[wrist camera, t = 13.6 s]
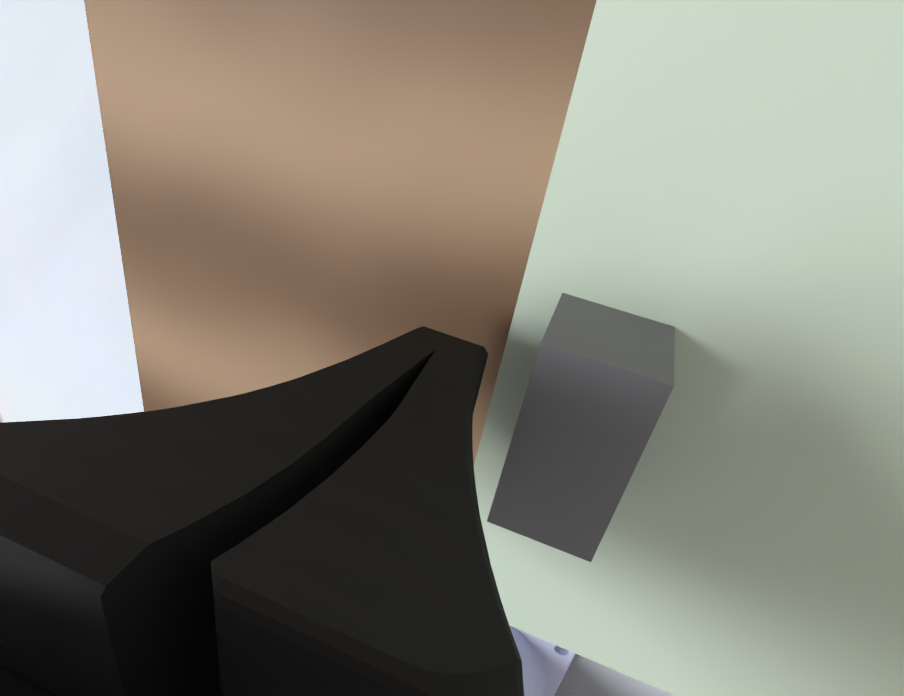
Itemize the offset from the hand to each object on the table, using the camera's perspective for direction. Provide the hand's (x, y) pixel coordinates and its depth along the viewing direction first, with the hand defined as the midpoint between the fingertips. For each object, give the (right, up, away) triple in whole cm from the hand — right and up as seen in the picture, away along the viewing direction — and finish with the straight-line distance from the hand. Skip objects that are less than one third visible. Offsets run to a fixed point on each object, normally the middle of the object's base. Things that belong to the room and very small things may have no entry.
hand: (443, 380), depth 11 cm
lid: (+6, -1, 0) cm, 6 cm away
